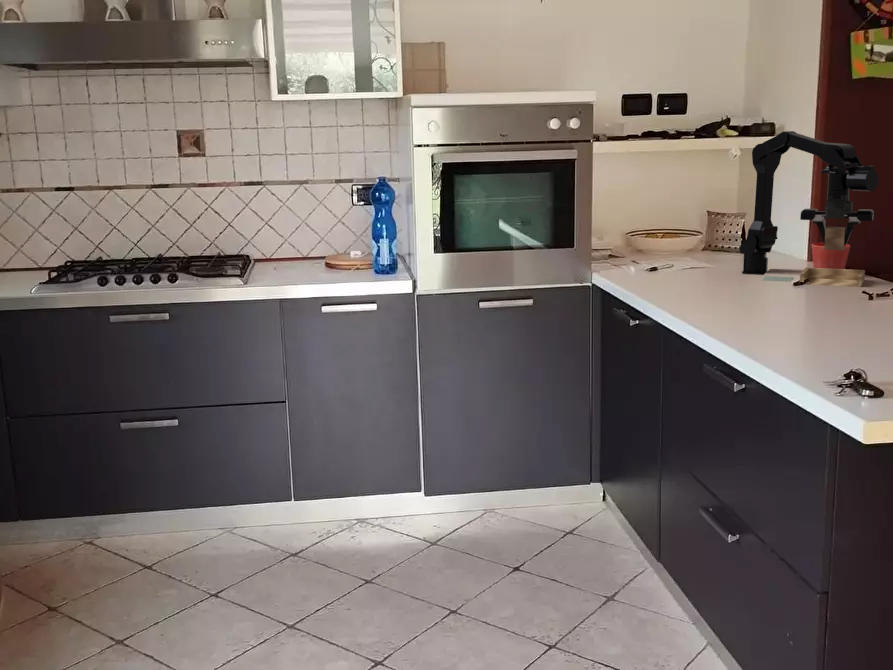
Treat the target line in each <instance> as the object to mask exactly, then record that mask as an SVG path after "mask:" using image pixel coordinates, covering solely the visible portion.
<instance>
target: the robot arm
mask: <svg viewBox="0 0 893 670" xmlns="http://www.w3.org/2000/svg"><path fill="white" fill-rule="evenodd" d="M791 148H793V149H796V150H799V151H802V152H806V153H809V154H811V155H815V156H817V157H818V158H819V159H820V160H821V161H822V162H824V163H826V164H827V166H826V167H825V168H823V169H822V170H821V174H827V178H828V179H827V193H826V201H825V203H824V205H825V206H824V210H823V211H822V210H821V211H819V210H818V208H804V209H802V210H801V211H800V218H799V219H800V220H802V221H812V224H816V226H817V227H818V228H817V229H818V230H819V234H820V237H821V240H822V243H823V244H824V245H825V229H826V228H827V227H826V223H827V222H826V219H829V220H830V219H837V220H840V219H848V222H847V226H846V235H845V240H844V246H846V244H848V241H849V239H850V236H851V235H852V234H851V233H852V231H853V230H854V228H855V226H856V225H860V224H861V222H873V220H874V218H875V217H874V213H875V211H874V210H873V209H871V208H870V209H868V208H867V209H863V208H861V209H859V208H858V210H857V211H853V206H854V205H853V200H850V191H853V192H857V191H858V192H874V191H875V190H876V189H877V187H878V185H879V182H880V181H879V179H880V178H879V176H878V173H877V171H876V170H875V166H874V165H866V166H864V165H863V163H862V162H861V160H860V158H859V156H858V154H857V152H856V150H855V147H854V146H853V145H852V144H848V143H840V142H839V143H838V142H837V143H836V142H826V141H823V140H821V139H816V138H814V137H810V136H807V135H804V134H801V133H797V132H796V131H793V130H785V131H784V130H783V131H781V132H780V133H779V134H777V135H776V136H774V137H772V138H769V139H767V140H765V141H764V142H762V143H758V144H756V145H755V146H754V147H753V149H752V151H751V156H752V157H751V158H752V165H753V166H752V167H754V170H755V171H756V172H755V173H756V184H755V196H754V197H755V200H754V211H753V212H754V213H753V214H754V216H753V220H752V223H751V224H750V226H749V228H748V230H747V236H746V239H745V240H744V241H743V242H742V243H741V244H740V245H739V247H738V250H739V253H740V254H741V255H743V267H742V268H743V269H742V271H741V274H750V275H752V274H754V275H764V274H765V273H767V272H768V266H769V265H768V263H769V258H768V257H767V253H771V251H772V247H773V246H774V245H775V244H776V241H777V240H778V229H779V228H778V226H777V225H776V226H775V225H774V224H773V222H772V210H773V209H772V206H773V196H774V195H773V194H774V181H775V180H774V178H775V173H776V171H777V169H778V167H779V165H780V163H781V159H782V155H784V154H786V153H787V152H788V151H789V150H790V149H791Z"/></svg>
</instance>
